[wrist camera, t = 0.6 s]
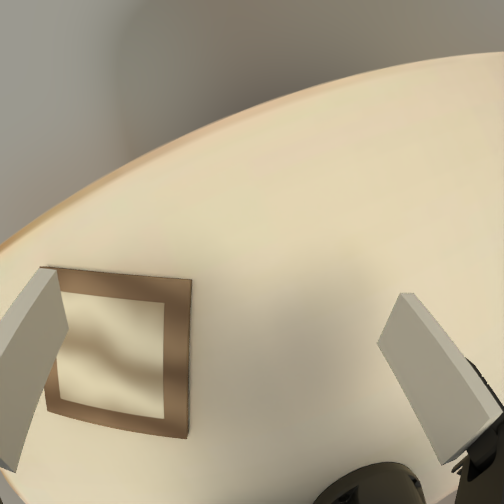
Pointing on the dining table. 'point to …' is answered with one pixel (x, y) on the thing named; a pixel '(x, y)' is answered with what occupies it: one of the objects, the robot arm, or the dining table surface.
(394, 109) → the dining table surface
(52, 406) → the walnut frame
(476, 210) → the dining table surface
